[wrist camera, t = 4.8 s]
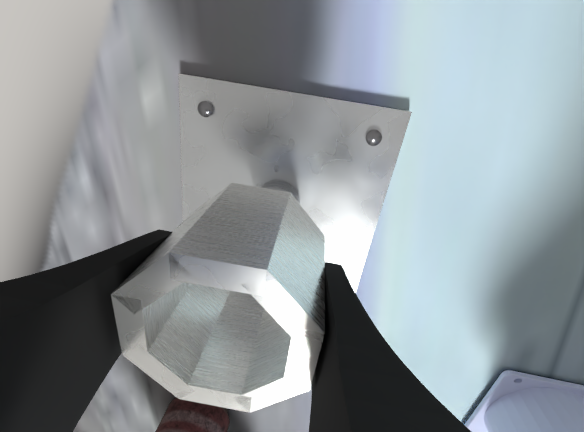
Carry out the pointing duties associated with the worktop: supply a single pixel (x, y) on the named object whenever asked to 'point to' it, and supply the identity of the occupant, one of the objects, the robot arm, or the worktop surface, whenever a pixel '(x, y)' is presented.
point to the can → (193, 417)
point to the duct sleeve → (230, 302)
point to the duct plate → (292, 155)
